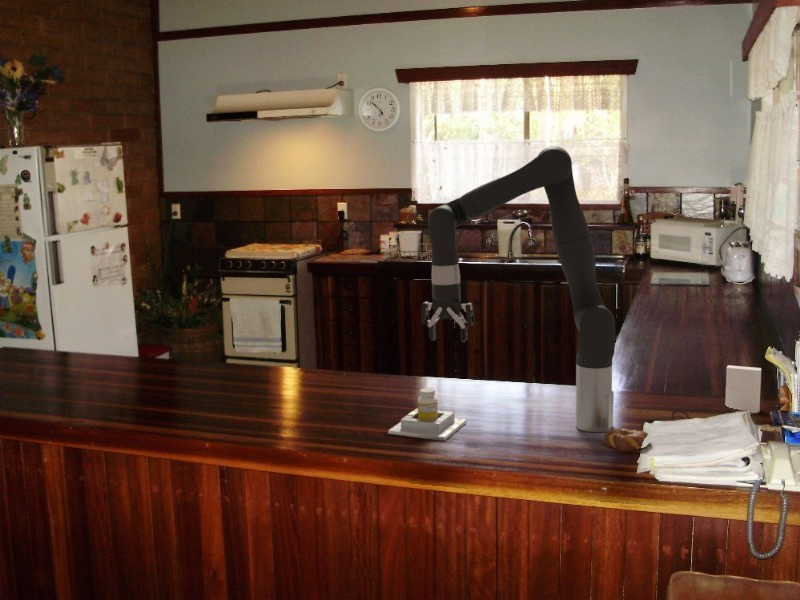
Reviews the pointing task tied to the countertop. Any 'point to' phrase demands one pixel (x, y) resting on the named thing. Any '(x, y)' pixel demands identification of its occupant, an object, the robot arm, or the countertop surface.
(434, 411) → the supplement bottle
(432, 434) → the white square holder
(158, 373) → the countertop surface
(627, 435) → the pretzel
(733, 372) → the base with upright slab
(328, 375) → the countertop surface
